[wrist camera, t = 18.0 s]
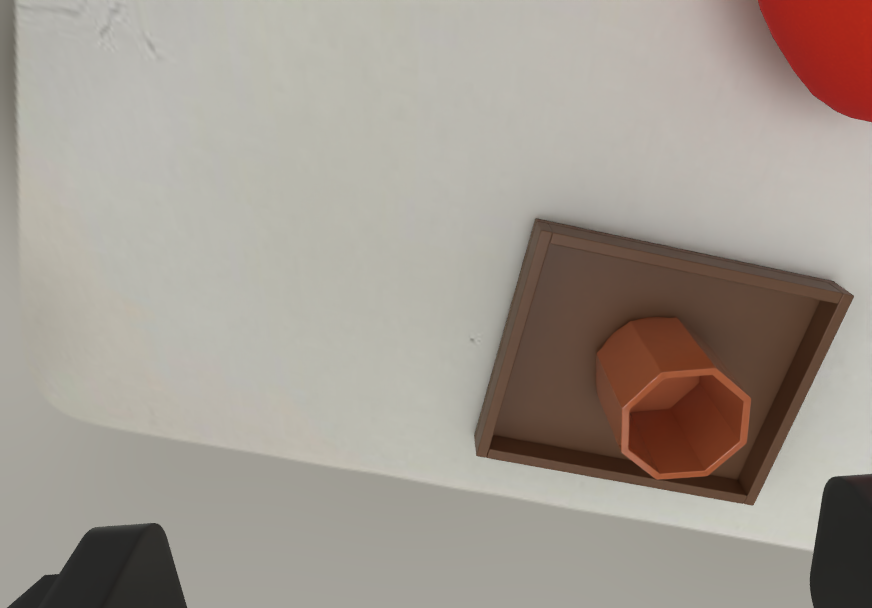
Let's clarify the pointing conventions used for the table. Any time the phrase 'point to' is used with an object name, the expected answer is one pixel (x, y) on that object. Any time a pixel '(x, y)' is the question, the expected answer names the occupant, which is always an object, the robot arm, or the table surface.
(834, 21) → the tomato
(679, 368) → the small cup
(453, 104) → the table surface
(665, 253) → the tray
